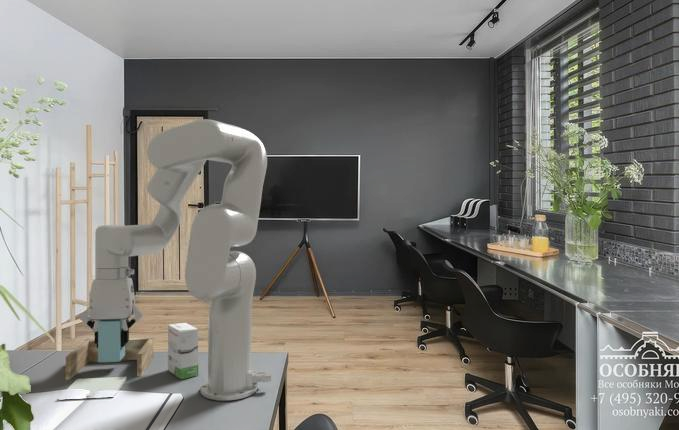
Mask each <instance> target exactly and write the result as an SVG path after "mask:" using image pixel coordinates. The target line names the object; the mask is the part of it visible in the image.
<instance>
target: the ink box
mask: <svg viewBox="0 0 679 430" xmlns="http://www.w3.org/2000/svg"><path fill="white" fill-rule="evenodd" d="M167 326H168V327H167V342H168V343H167V354H168V355H167V363H168V364H167V367H168V368H167V370H168V371H169V372H170V373H172V374H173V375H174V376H175V377H176V378H178V379H179V380H184V379H188V378H193V377H197V376H199V328H197V327H195V326H193V325H191V324H189V323H187V322H181V323H170V324H168V325H167Z"/></svg>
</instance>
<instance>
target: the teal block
mask: <svg viewBox="0 0 679 430" xmlns="http://www.w3.org/2000/svg"><path fill="white" fill-rule="evenodd" d="M121 331H122V325H121V320H101V321H99V322H98V361H97V363H113V362H121V361H122V360H121V359H122V358H123V357H124V356H125V346H124V347H121Z"/></svg>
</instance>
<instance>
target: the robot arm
mask: <svg viewBox="0 0 679 430" xmlns="http://www.w3.org/2000/svg"><path fill="white" fill-rule="evenodd" d="M146 150H147V151H146V153H147V154H146V155H147V159H148V161H149V163H150V164H151V165H152V166H153V167H155V168H156V170H155V172H154V174H153V175H152V177H151V178H150V180H149V181H148V183H147V185H146V190H147V192H148V194H149V195H150V197H151V198H152V199H153V200H155V201H156V202H157V203H159V208H158V211H157V213H156V215H155V217H154V218H153V219H152V220H151V222H150V223H149V224H148V223H147V224H132V225H120V224H106V225H105V224H104V225H99V226H97V227H96V228H95V232H94V233H95V235H94V236H95V240H94V244H95V247H94V249H95V258H94V260H95V265H94V266H95V274H94V275H95V277H94V278H95V279H93V280H92V282H91V286H90V291H89V299H88V307H87V308H86V309H85V311H84V312H83V313H82V314H81V316H80V317H79V320H81V322H83V323H84V324H87V327H89V328H90V329H91V330H92V332H94V340H95V344H97V348H98V322H99V321H101V320H121V325H122V331H121V347H124V346H125V345H126V344H127V342H129V339H130V336H129V335H130V333H129V332H130V328H132V326H133V325H134V324H136V323H137V322H138V321H140V319H142V318H143V316H144V314H143V312H142V311H141V310H140V308H138V307H137V305H136V299H135V298H136V297H135V289H134V282H133V279H132V277H129V276H131V275H135V269H134V268H133V269H132V268H130V266H129V257H138V256H141V255H142V256H143V255H151V254H157V253H160V252H161V251H163V250H164V249H165V248H166V247H167V246H168V245H169V243H170V242H171V241H172V239H173V237H174V236H175V234H176V232H177V231H178V229H179V228H180V224H181V219H182V207H181V203H182V201H183V199H184V197H185V196H186V194H187V193H188V191H189V190H190V188H191V186H192V185H193V183H194V182H195V180H196V178H197V177H198V176H199V174H200V172H201V170H202V169H203V168H204V165H205V164H206V163H207V161H213V162H220V163H227V164H230V165H231V169H230V171H229V172H228V174H227V176H226V178H225V179H224V180H225V181H224V184H223V192H222V196H221V202H220V203H213V204H208V205H206V206H204V207H203V208H201V209H200V210H199V211H198V212H197V213H196V215H195V217H194V219H193V221H192V224H191V228H190V233H189V241H188V249H187V256H186V263H185V271H184V272H185V273H184V274H185V275H184V278H185V285H186V288H187V290H188V292H189V294H190V295H191V296H192V297H193V298H194V299H196V300H200V301H206V302H207V301H210V305H209V310H208V328H207V329H208V339H207V341H208V342H207V343H208V346H207V347H208V348H207V353H208V354H207V362H208V363H207V364H208V365H207V380H206V381H205V382H203V383H202V384H201V386H200V394H201V396H203V398H206V399H209V400H211V401H219V402H221V401H222V402H225V401H226V402H228V401H236V400H241V399H246V398H248V397H250V396H252V395H254V394H255V393H256V392H257V390H258V387H259V386H258V383H272V373H271V372H269V373H268V372H267V373H266V370H260V371H256V370H255V369H253V365H252V322H253V321H252V320H253V319H252V316H253V313H252V312H253V298H254V292H255V287H256V280H257V269H256V265H255V262H254V261H253V259H252V258H251V257H250V256H249V255H248V254H246V253H244V252H242V251H238V250H231V248H235V247H237V248H238V247H242V246H246V245H248V244H250V243H252V241H253V240H254V238H255V237H256V234H257V231H258V223H259V217H260V210H261V205H262V204H261V203H262V199H263V198H262V197H263V196H262V194H263V188H264V187H263V186H264V183H265V178H266V174H267V169H268V153H267V150H266V148H265V145H264V144H263V142H262V141H261V140H260V138H258V137H257V136H256V135H255V134H254V133H252V132H251V131H249V130H247V129H244V128H242V127H240V126H236V125H234V124H228V123H227V122H226V123H225V122H221V121H218V120H213V119H206V118H204V119H199V120H194V121H191V122H189V123H185V124H182V125H181V124H180V125H178V126H175V127H172V128H168V129H165V130H163V131H160V132H158V133H157V134H156V135H154V137H152V138H151V140H150V141H149V143H148V146H147V149H146ZM133 315H134V317H133V318H131V317H132V316H133ZM130 318H131V319H130Z"/></svg>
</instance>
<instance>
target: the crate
mask: <svg viewBox="0 0 679 430" xmlns="http://www.w3.org/2000/svg"><path fill="white" fill-rule="evenodd" d="M153 359H154V337H141V338H140V337H138V338H129V342H127V344H126V345H125V356H124V357H123V358H122V359H121V361H133V360H134V361H136V363H137V364H136V366H137V367H136V369H137V370H136V376H137V377H142V376H143V375H144V373H145V371H146V370H147V369H148V367H149V365H150V364H151V362H152V360H153ZM92 361H93V363H95V362H98V348H97V344H95V339H86V340H85V341H83V342H82V343H81V344H79V346H77V347H76V348H75V349H74V350H73V351H71V352H70V353H68V355H66V356H65V380H66V381H68V380H69V381H70V380H71V379H73V378H74V377H75V376H76V375H77V374H78V373H79V372H80V371H81V370H82V369H83V368H84V367H85V366H86V365H87V364H89V362H92Z"/></svg>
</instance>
